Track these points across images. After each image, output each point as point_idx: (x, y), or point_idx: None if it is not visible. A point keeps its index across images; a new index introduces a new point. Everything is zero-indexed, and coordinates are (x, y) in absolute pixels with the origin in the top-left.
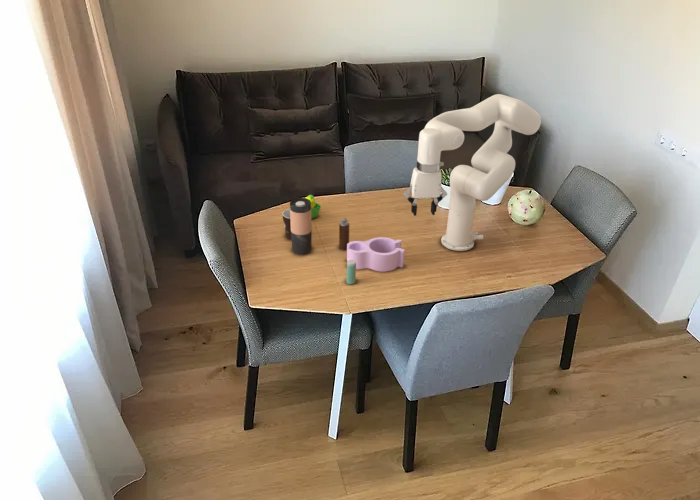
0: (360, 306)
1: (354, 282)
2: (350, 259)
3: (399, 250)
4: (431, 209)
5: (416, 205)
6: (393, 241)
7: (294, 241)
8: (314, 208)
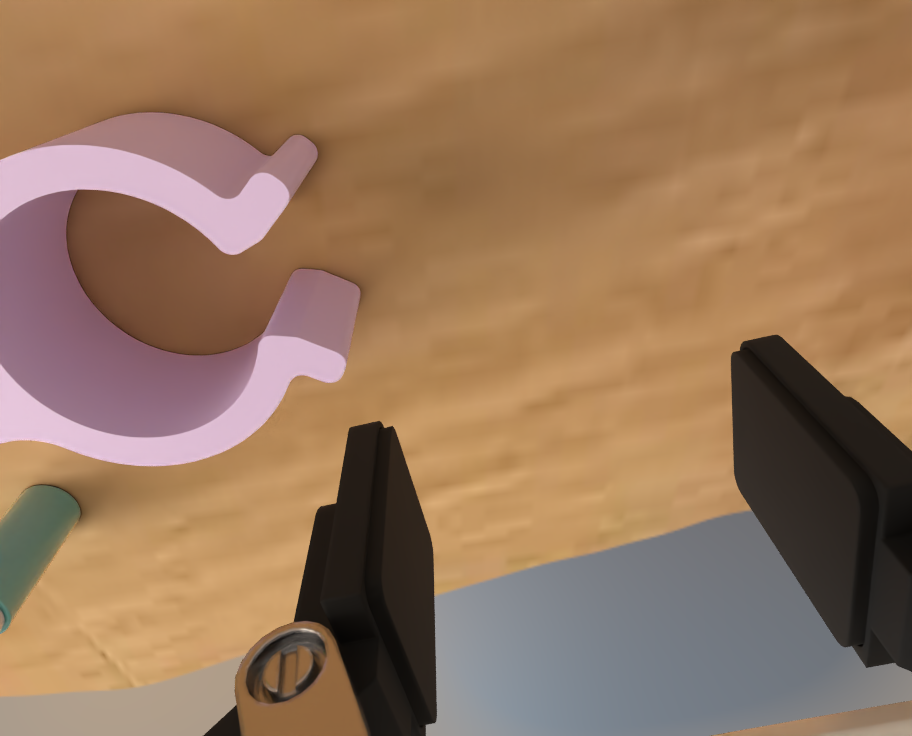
0: (185, 668)
1: (75, 525)
2: None
3: (299, 374)
4: (761, 430)
5: (421, 713)
6: (206, 225)
7: None
8: None
